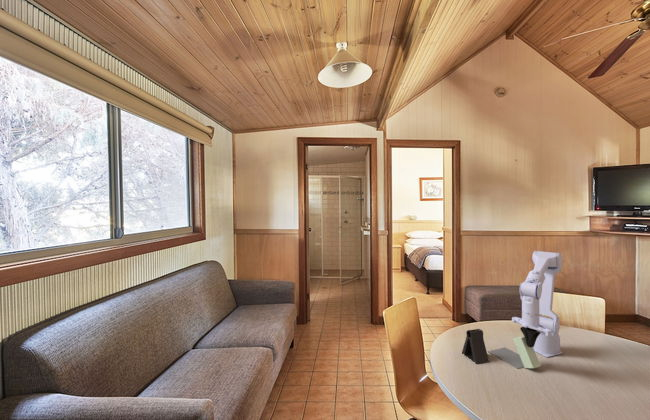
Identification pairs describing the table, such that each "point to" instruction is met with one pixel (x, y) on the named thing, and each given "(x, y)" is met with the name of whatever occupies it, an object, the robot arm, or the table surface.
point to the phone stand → (475, 346)
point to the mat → (508, 357)
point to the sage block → (526, 353)
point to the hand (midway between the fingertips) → (530, 346)
